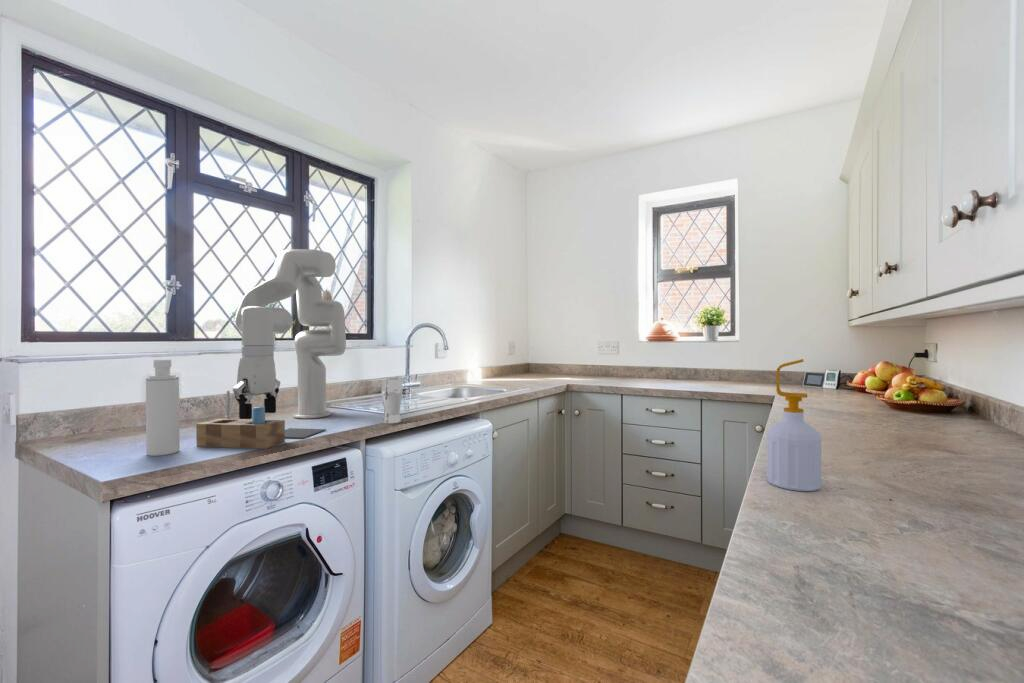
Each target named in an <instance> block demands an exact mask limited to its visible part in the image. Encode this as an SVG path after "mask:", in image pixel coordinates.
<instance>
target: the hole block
mask: <svg viewBox="0 0 1024 683" xmlns="http://www.w3.org/2000/svg"><path fill="white" fill-rule="evenodd" d="M285 427H286V420H285V419H265V423H263V424H252V418H251V419H240V418H230V419H225V418H215V419H212V420H211V419H210V420H207V421H203V422H198V423H196V436H195V437H196V447H206V448H207V447H208V448H209V447H211V448H234V449H235V448H237V449H238V448H240V449H244V448H245V449H265V450H266V449H268V448H271V447H275V446H277V445H280V444H283V443H285V442H286V440H285V439H286V438H285V430H286V428H285Z"/></svg>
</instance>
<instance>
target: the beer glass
mask: <svg viewBox="0 0 1024 683" xmlns="http://www.w3.org/2000/svg"><path fill="white" fill-rule="evenodd" d="M402 378H403V377H381V387H380V388H381V390H380V392H381V394H380V395H381V402H382V406H383V407H382V408H383V417H382V423H383V424H386V425H392V424H393V425H394V424H400V423H402V418H401V404H402V398H403V379H402Z"/></svg>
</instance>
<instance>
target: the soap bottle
mask: <svg viewBox="0 0 1024 683" xmlns="http://www.w3.org/2000/svg"><path fill="white" fill-rule="evenodd" d="M803 362H804V359H803V358H802V359H798V360H793V361H790V362H789V361H788V362H784V363H782V364H780V365H779V366H778V367H777V369H776V394H777V395H779V396H780V397H784V398H785V401H787V402H788V407H783V418H782V419H781V420H780V421H779V422H776V423H774V424H773V425H771V426H770V427H768V429H767V431H766V480H767V482H768V483H769V484H770V485H773V486H774V487H778V488H780V489H784V490H790V491H796V492H814V491H819V490H820V488H821V487H822V436H821V433H820V432H819V431H818V430H817V429H816V428H814V427H813V426H812V425H810V424H808V423H807V422H806V421H805V419H804V408H800V407H799V405H800V404H799V402H802V401H803V398H804V399H805V398H808V394H807V393H803V392H802V393H801V392H784V391H782V390H781V388H780V371H781V369H783V368H785V367H788V366H792V365H795V364H801V363H803Z"/></svg>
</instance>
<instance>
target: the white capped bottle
mask: <svg viewBox="0 0 1024 683" xmlns="http://www.w3.org/2000/svg"><path fill="white" fill-rule="evenodd" d="M171 367H172V359H171V358H170V359H169V358H167V359H165V358H164V359H162V358H161V359H153V368H154V374H153V375H152V374H151V375H148V378H145V435H146V436H145V452H146V456H150V457H153V456H154V457H156V456H159V457H160V456H165V455H166V456H167V455H172V454H175V453H178V452H179V451H180V444H181V443H180V438H181V437H180V377H179V376H178V377H177V375H176V374H171Z"/></svg>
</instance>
